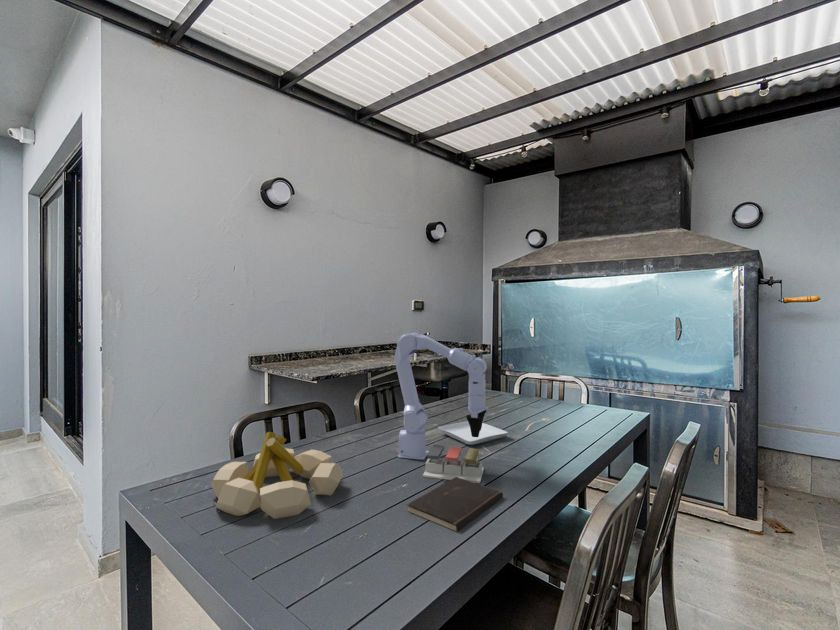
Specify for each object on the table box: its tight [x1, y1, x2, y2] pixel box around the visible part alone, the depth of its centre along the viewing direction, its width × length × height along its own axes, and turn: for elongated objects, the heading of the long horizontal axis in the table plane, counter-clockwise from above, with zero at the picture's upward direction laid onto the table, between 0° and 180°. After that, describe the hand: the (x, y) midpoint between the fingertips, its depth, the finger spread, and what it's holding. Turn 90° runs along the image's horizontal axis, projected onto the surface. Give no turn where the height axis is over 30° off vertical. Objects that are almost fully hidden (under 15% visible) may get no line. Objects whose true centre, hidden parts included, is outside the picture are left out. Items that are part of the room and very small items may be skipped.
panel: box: [422, 457, 485, 484], centre depth 135 cm, size 18×11×3 cm, turn 76°
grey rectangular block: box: [426, 444, 445, 464], centre depth 136 cm, size 4×10×4 cm, turn 166°
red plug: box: [445, 446, 463, 465], centre depth 135 cm, size 4×10×4 cm, turn 166°
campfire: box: [209, 431, 344, 520], centre depth 121 cm, size 35×34×17 cm
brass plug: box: [464, 447, 481, 467], centre depth 133 cm, size 4×10×4 cm, turn 166°
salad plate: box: [437, 420, 509, 446], centre depth 172 cm, size 21×21×3 cm
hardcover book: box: [406, 477, 504, 533], centre depth 114 cm, size 16×23×2 cm
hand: (476, 433), depth 143 cm, fingers open, 7 cm apart
